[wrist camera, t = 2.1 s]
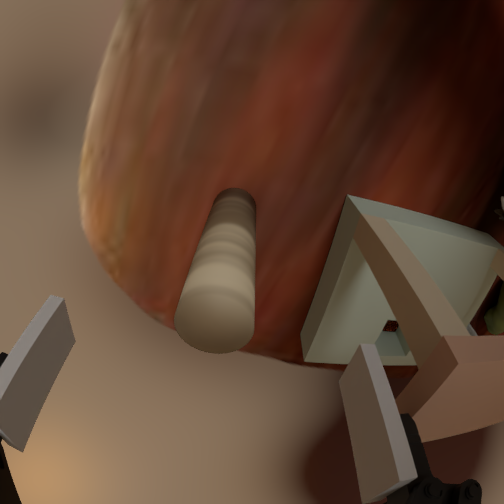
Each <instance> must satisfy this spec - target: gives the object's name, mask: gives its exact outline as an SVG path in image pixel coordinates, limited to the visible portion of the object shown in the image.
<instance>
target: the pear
mask: <svg viewBox="0 0 504 504" xmlns="http://www.w3.org/2000/svg"><path fill="white" fill-rule="evenodd" d="M484 319H485V321H486V325H487V329H488V331H489V332H490V333H492V334H495V335H498V334H500V333H502V332H504V282H503V284H502V287H501V290H500V294H499V298H498V303H497V305H496V306H494V307H492V308H490V309H489V310H488V311H487V312H486V313H485V316H484Z"/></svg>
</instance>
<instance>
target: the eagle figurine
mask: <svg viewBox="0 0 504 504" xmlns="http://www.w3.org/2000/svg"><path fill="white" fill-rule="evenodd" d="M501 204H502V209H503V210H501V209H496V210H494V212H495V213H496V214H498V215H499V216H500V217H499V220H503V221H504V196H501Z"/></svg>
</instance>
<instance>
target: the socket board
mask: <svg viewBox="0 0 504 504" xmlns="http://www.w3.org/2000/svg"><path fill="white" fill-rule="evenodd" d="M361 213H362V214H367V215H371V216H376V217H380V218H384V219H385V220H386V221H387V222H388V223H389V224H390V226H391V227H392V228H393V229H394V230H395V232H396V233H397V234H398V235H399V237H400V238H401V239H402V240H403V241H404V243H405V244H406V245H407V246H408V248H409V249H410V250H411V252H412V253H413V254H414V255H415V257H416V258H417V259H418V261H419V262H420V263H421V264H422V266H423V267H424V268H425V270H426V271H427V272H428V274H429V275H430V276H431V278H432V279H433V281H434V282H435V283H436V285H437V286H438V288H439V289H440V290H441V292H442V293H443V295H444V296H445V297H446V299H447V300H448V302H449V303H450V305H451V306H452V308H453V309H454V311H455V312H456V314H457V315H458V317H459V318H460V320H461V321H462V323H463V324H464V326H465V327H466V328H467V326H468V325H469V323H470V321H471V320H472V318H473V317H474V315H475V313H476V312H477V310H478V308H479V307H480V305H481V303H482V302H483V300H484V298H485V297H486V295H487V293H488V291H489V289H490V288H491V286H492V284H493V282H494V280H495V278H496V276H497V273H496V272H495V271H494V270H493V269H492V268H491V267H490V265H491V263H492V261H493V259H494V256H495V254H496V252H497V250H498V249H501V250H504V247H503V246H502V245H501V244H500V243H498V242H497V241H496V240H495V239H494V238H493V237H492V236H490V235H489V234H488V233H485V232H482V231H479V230H476V229H473V228H469V227H466V226H463V225H460V224H456V223H453V222H450V221H446V220H443V219H440V218H436V217H433V216H429V215H426V214H422V213H418V212H415V211H411V210H407V209H403V208H400V207H396V206H392V205H388V204H384V203H380V202H376V201H372V200H368V199H363V198H359V197H355V196H350V195H347V196H346V200H345V203H344V206H343V210H342V213H341V216H340V220H339V223H338V226H337V229H336V233H335V236H334V239H333V242H332V245H331V248H330V251H329V254H328V257H327V260H326V263H325V266H324V269H323V272H322V275H321V278H320V281H319V284H318V287H317V290H316V292H315V295H314V298H313V301H312V304H311V306H310V309H309V312H308V315H307V317H306V320H305V323H304V325H303V328H302V331H301V333H300V336H301V343H302V350H303V358H304V362H316V363H332V364H349V362H350V361H351V359H352V357H353V355H354V354H355V352H356V350H357V348H358V346H359V344H375V346H376V349H377V352H378V354H379V357H380V360H381V362H382V365H417V364H416V362H415V360H414V357H413V355H412V353H411V351H410V348H409V346H408V344H407V342H406V339H405V337H404V335H403V333H402V331H401V329H400V327H399V326H398V328H397V330H396V331H395V332H388V331H382V330H383V328H384V326H385V324H386V322H387V320H395V321H397V320H396V318H395V316H394V314H393V312H392V310H391V308H390V306H389V304H388V302H387V300H386V298H385V296H384V294H383V292H382V290H381V288H380V286H379V284H378V282H377V280H376V279H375V277H374V275H373V273H372V271H371V269H370V267H369V265H368V264H367V262H366V260H365V258H364V256H363V254H362V253H361V251H360V249H359V247H358V245H357V244H356V242H355V240H354V238H353V236H354V233H355V230H356V227H357V224H358V221H359V218H360V215H361Z"/></svg>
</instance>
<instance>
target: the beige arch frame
mask: <svg viewBox="0 0 504 504" xmlns="http://www.w3.org/2000/svg"><path fill="white" fill-rule="evenodd" d="M353 238H354V240H355V242H356V244H357V245H358V247H359V249H360V251H361V253H362V254H363V256H364V258H365V260H366V262H367V264H368V265H369V267H370V269H371V271H372V273H373V275H374V277H375V279H376V280H377V282H378V284H379V286H380V288H381V290H382V292H383V294H384V296H385V298H386V300H387V302H388V304H389V306H390V308H391V310H392V312H393V314H394V316H395V318H396V320H397V322H398V324H399V327H400V329H401V331H402V333H403V335H404V337H405V339H406V342H407V344H408V346H409V348H410V351H411V353H412V355H413V357H414V360H415V362H416V364H417V366H418V369H419V371H418V372H417V373H416V374H415V376H414V377H413V378H412V380H411V381H410V382H409V383H408V385H407V386H406V387H405V389H404V390H403V391H402V392H401V394H400V395H399V396H398V397H397V398H396V399H395V402H396V405H397V408H398V411H399V414H405V413H409V415H410V416H411V417H412V419H413V420H414V421H415V423H416V426H417V429H418V432H419V435H420V438H421V441H422V442H426V441H431V440H436V439H441V438H445V437H450V436H454V435H458V434H462V433H466V432H469V431H473V430H476V429H479V428H483V427H486V426H490V425H493V424H496V423H498V422H502V421H504V336H471V335H470V334H469V332H468V331H467V329H466V327H465V326H464V324H463V323H462V321H461V320H460V318H459V317H458V315H457V314H456V312H455V311H454V309H453V308H452V306H451V305H450V303H449V302H448V300H447V299H446V297H445V296H444V295H443V293H442V292H441V290H440V289H439V288H438V286H437V285H436V283H435V282H434V281H433V279H432V278H431V276H430V275H429V274H428V272H427V271H426V270H425V268H424V267H423V266H422V264H421V263H420V262H419V261H418V259H417V258H416V257H415V255H414V254H413V253H412V252H411V250H410V249H409V248H408V246H407V245H406V244H405V243H404V241H403V240H402V239H401V238H400V237H399V235H398V234H397V233H396V232H395V230H394V229H393V228H392V227H391V226H390V224H389V223H388V222H387V221H386V220H385V219H384V218H380V217H376V216H371V215H367V214H362V213H361V215H360V218H359V221H358V224H357V227H356V230H355V233H354V236H353ZM490 267H491V268H492V269H493V270H494V271H495V272H496V273H497V274H498V275H499V277H500V278H501V279H502V280H503V281H504V250H501V249H498V250H497V252H496V254H495V256H494V259H493V261H492V263H491V265H490Z"/></svg>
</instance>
